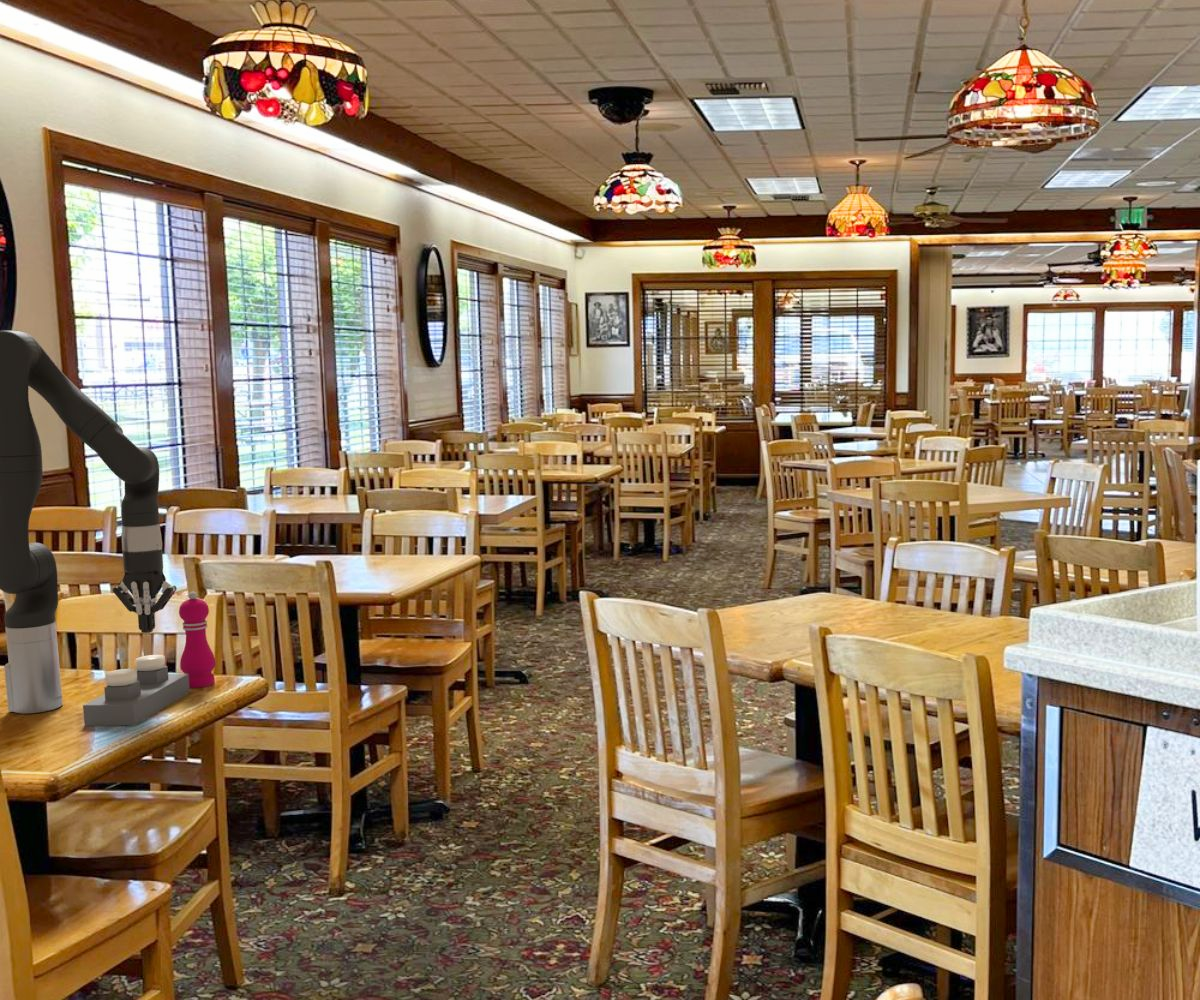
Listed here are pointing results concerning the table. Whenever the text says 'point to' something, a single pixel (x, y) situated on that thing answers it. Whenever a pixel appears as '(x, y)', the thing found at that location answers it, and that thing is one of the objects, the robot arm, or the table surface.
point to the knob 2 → (150, 662)
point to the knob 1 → (121, 677)
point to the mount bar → (136, 699)
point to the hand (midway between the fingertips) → (147, 632)
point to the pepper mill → (196, 643)
